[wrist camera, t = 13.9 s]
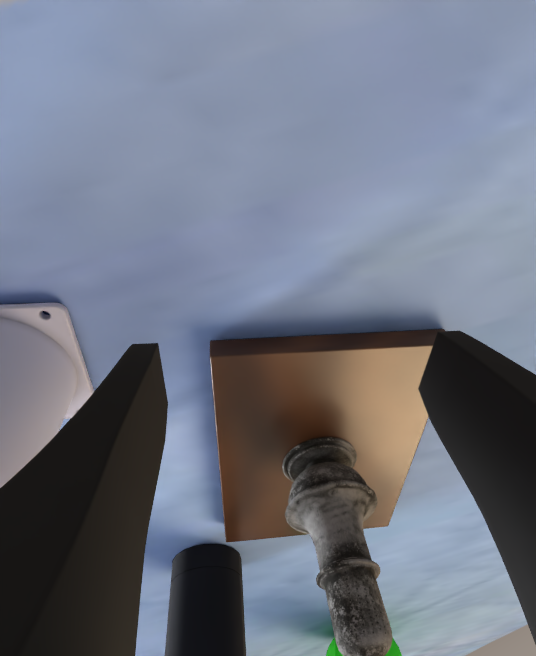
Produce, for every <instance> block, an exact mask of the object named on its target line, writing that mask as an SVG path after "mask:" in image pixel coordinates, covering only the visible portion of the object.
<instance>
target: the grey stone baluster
mask: <svg viewBox="0 0 536 656" xmlns="http://www.w3.org/2000/svg"><path fill="white" fill-rule="evenodd" d="M356 460H357V453H356V451H355V449H354V447H353V446H352V445H351V444H350V443H349V442H347V441H345V440H343V439H339V438H334V437H321V438H315V439H311V440H308V441H305V442H303V443H301V444H299V445H297V446H296V447H294V448H293V449H292V450H290V451H289V452H288V453H287V455H286V456H285V458H284V460H283V464H282V468H283V473H284V474H285V476H286V477H287V478H288V479H289V480H291V481H292V482H293V484H292V486H291V490H290V495H289V499H288V503H289V504H288V506H287V508H286V512H285V517H286V521H287V523H288V524H289V525H290V526H291V527H292V528H294V529H295V530H297V531H299V532H302V533H306V534H310V536H311V538H312V540H313V543H314V545H315V548H316V553H317V558H318V563H319V568H320V573H319V574H318V575H317V578H316V581H317V585H318V586H319V587H320V588H322V589H324V590H325V591H326V596H327V601H328V606H329V611H330V616H331V621H332V625H333V630H334V635H335V640H336V644H337V647H338V650H339V651H340V652H341V654H342V655H343V656H385V655H386V654H387V652H388V651H389V650H390V648H391V644H392V631H391V627H390V624H389V621H388V617H387V614H386V611H385V608H384V604H383V601H382V598H381V594H380V591H379V588H378V584H377V581H376V578H377V577H378V576H379V574H380V567H379V565H378V564H377V563H375V562H374V561H372V560H371V557H370V553H369V550H368V547H367V543H366V540H365V537H364V532H363V522H364V521H365V520H367V519H368V518H369V517H370V516H371V515H372V514H373V512H374V510H375V508H376V506H377V496H376V494H375V492H374V490H372V489H371V488H370V487H369V486H367V484H366V482H365V480H364V479H363V478H362V477H361V476H360V474H359V473H358V472H357V471H355V470H354V469H353V467H354V466H355V463H356Z"/></svg>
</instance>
